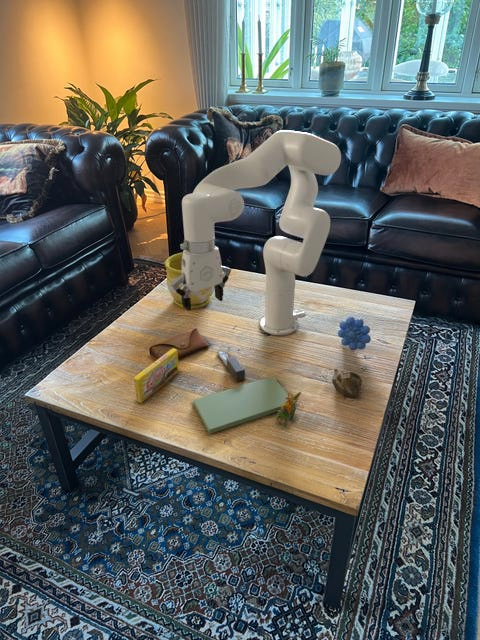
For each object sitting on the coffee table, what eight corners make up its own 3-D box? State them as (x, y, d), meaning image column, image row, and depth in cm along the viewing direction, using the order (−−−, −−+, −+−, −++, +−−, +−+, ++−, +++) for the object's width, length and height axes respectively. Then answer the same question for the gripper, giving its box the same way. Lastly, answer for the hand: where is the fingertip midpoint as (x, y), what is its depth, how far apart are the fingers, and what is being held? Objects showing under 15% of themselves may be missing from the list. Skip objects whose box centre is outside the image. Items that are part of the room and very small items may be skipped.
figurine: (270, 429, 110) (271, 405, 106) (294, 403, 118) (296, 379, 114) (281, 435, 108) (283, 410, 104) (305, 407, 117) (307, 383, 112)
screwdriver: (244, 379, 127) (244, 369, 125) (236, 382, 126) (236, 372, 124) (224, 351, 139) (224, 342, 137) (216, 353, 138) (216, 344, 136)
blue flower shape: (375, 352, 138) (381, 320, 131) (362, 361, 134) (368, 327, 128) (345, 337, 145) (350, 305, 139) (332, 344, 141) (336, 312, 135)
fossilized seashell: (328, 368, 127) (327, 396, 119) (343, 356, 123) (343, 383, 115) (349, 380, 128) (350, 407, 121) (365, 368, 124) (366, 396, 117)
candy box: (142, 404, 118) (138, 380, 114) (136, 401, 119) (132, 377, 115) (179, 372, 130) (177, 349, 126) (174, 369, 131) (171, 347, 127)
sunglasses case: (163, 366, 131) (155, 346, 130) (154, 367, 137) (146, 347, 136) (212, 344, 141) (204, 325, 140) (201, 345, 147) (194, 327, 146)
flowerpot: (175, 288, 175) (172, 250, 167) (220, 291, 173) (219, 252, 165) (163, 311, 160) (158, 270, 152) (211, 314, 158) (209, 273, 149)
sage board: (272, 379, 127) (272, 375, 126) (293, 406, 117) (294, 401, 116) (193, 403, 118) (193, 399, 117) (209, 434, 109) (209, 429, 108)
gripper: (175, 257, 104) (180, 318, 113) (237, 242, 112) (237, 300, 121) (162, 246, 109) (168, 306, 118) (222, 233, 117) (223, 290, 126)
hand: (203, 303), depth 120 cm, fingers open, 9 cm apart
